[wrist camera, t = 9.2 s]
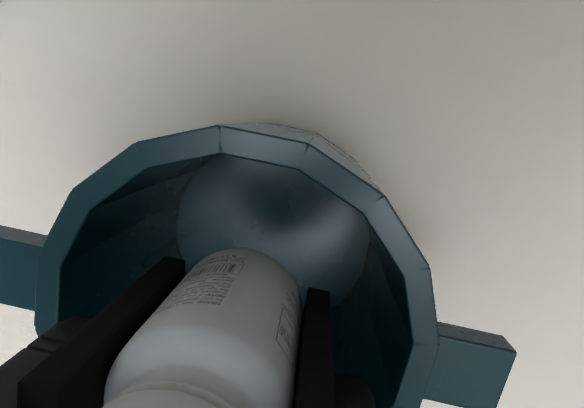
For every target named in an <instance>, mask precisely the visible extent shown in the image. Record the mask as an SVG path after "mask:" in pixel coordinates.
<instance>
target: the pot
mask: <svg viewBox="0 0 584 408" xmlns="http://www.w3.org/2000/svg"><path fill="white" fill-rule="evenodd" d="M232 248H245V249H251V250H255V251H257V252H261V253H263V254H266V255H268V256H270V257H271V258H273V259H274V260H276V261H277V262H279V263H280V264H281V265H282V266H283V267H284V268H285V269H286V270H287V271H288V272H289V273H290V274H291V276H292V277H293V279H294V280H295V282H296V284H297V286H298V289H299V292H300V296H301V301H302V314H303V310H304V305H305V301H306V296H307V292H308V288H309V287H311V288H316V289H320V290H325V291H329V292H330V306H331V329H332V352H333V372H334V373H339V374H343V375H347V376H352V377H356V378H361V379H363V380H364V381H365V383H366V384H367V386H368V387H369V389H370V390H371V392H372V393H373V396H374V401H375V407H376V408H420V405H421V402H422V399H428V400H432V401H436V402H441V403H445V404H450V405H454V406H458V407H463V408H496V406H497V404H498V401H499V399H500V396H501V394H502V391H503V388H504V386H505V383H506V381H507V378H508V375H509V373H510V370H511V368H512V365H513V362H514V360H515V357H516V355H517V353H516V351H515V350H514V348H513V347H512V346H511V345H510V344H509V343H508V341H507V340H506V339H505V338H504V337H503V336H501V335H497V334H492V333H488V332H483V331H478V330H474V329H469V328H465V327H460V326H456V325H451V324H447V323H442V322H437V317H436V309H435V302H434V294H433V286H432V279H431V271H430V268H429V264H428V263H427V261H426V259H425V258H424V256H423V255H422V253H421V252H420V250H419V248H418V247H417V245H416V244H415V242H414V240H413V239H412V237H411V236H410V234H409V233H408V231H407V229H406V228H405V226H404V225H403V223H402V221H401V220H400V218H399V217H398V215H397V213H396V212H395V210H394V209H393V207H392V206H391V204H390V202H389V201H388V199H387V198H386V196H385V195H384V194H383V193H382V191H381V190H380V189H379V188H378V187H377V185H376V184H375V183H374V182H373V181H372V180H371V178H370V177H369V176H368V175H367V174H366V173H365V171H364V170H363V169H362V168H361V167H360V165H359V164H358V163H357V162H356V161H355V160H354V159H353V158H352V157H351V156H349V155H348V154H346V153H345V152H343V151H342V150H340V149H339V148H338V147H336V146H335V145H334V144H332V143H330V142H329V141H327V140H326V139H324V138H323V137H322V136H320V135H319V134H317V133H315V132H311V131H306V130H301V129H297V128H293V127H287V126H282V125H277V124H272V123H259V124H229V125H214V126H210V127H205V128H200V129H195V130H191V131H186V132H181V133H176V134H171V135H167V136H162V137H157V138H152V139H148V140H143V141H138V142H136V143H133V144H132V145H131V146H129V147H128V148H127V149H125V150H124V151H123V152H121V153H120V154H119V155H117V156H116V157H115V158H113V159H112V160H111V161H109V162H108V163H106V164H105V165H104V166H102V167H101V168H100V169H98V170H97V171H96V172H94V173H93V174H92V175H90V176H89V177H88V178H86V179H85V180H84V181H82V182H81V183H80V184H78V185H77V186H76V187H74V188H73V189H72V191H71V192H70V194H69V196H68V198H67V200H66V201H65V203H64V205H63V207H62V209H61V211H60V213H59V215H58V217H57V219H56V221H55V223H54V225H53V227H52V228H51V230H50V232H49V234H48V236H47V235H43V234H38V233H34V232H29V231H24V230H20V229H15V228H11V227H6V226H2V225H0V303H2V304H6V305H11V306H15V307H19V308H24V309H28V310H33V311H35V319H34V326H35V330H36V332H37V335H38V338H40V336H41V335H42V334H43V333H45V332H46V331H47V330H49V329H50V328H51V327H53V326H54V325H55V324H57V323H59V322H62V321H64V320H67V319H69V318H72V317H74V316H80V317H85V318H89V319H92V318H93V317H94V316H96V315H97V314H98V313H99V312H100V311H101V310H103V309H104V308H105V307H106V306H107V305H108V304H110V303H111V302H112V301H113V300H114V299H115V298H117V297H118V296H119V295H120V294H121V293H122V292H124V291H125V290H126V289H127V288H128V287H129V286H131V285H132V284H133V283H134V282H135V281H136V280H138V279H139V278H140V277H141V276H142V275H143V274H145V273H146V272H147V271H148V270H149V269H150V268H152V267H153V266H154V265H155V264H156V263H157V262H159V261H160V260H161V259H162V258H163V257H164V256H169V257H174V258H178V259H183V260H186V264H185V272H184V277H185V276H186V275H187V274H188V273H189V272H190V271H191V269H192V268H193V267H194V266H195V265H196V264H197V263H198V262H200V261H201V260H202V259H203V258H205V257H206V256H208V255H210V254H212V253H215V252H218V251H221V250H225V249H232Z"/></svg>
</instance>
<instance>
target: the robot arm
mask: <svg viewBox="0 0 584 408" xmlns="http://www.w3.org/2000/svg"><path fill="white" fill-rule="evenodd" d="M185 264H186V260H183V259H178V258H174V257H169V256H164V257H163V258H162V259H161V260H160V261H159V262H157V263H156V264H155V265H154V266H153V267H152V268H150V269H149V270H148V271H147V272H146V273H145V274H143V275H142V276H141V277H140V278H139V279H138V280H136V281H135V282H134V283H133V284H132V285H131V286H129V287H128V288H127V289H126V290H125V291H124V292H122V293H121V294H120V295H119V296H118V297H117V298H115V299H114V300H113V301H112V302H111V303H110V304H108V305H107V306H106V307H105V308H104V309H103V310H101V311H100V312H99V313H98V314H97V315H96V316H94V317H93V318H92V319H89V318H85V317H80V316H74V317H72V318H69V319H67V320H64V321H62V322H59V323H57V324H55V325H54V326H53V327H51V328H50V329H49V330H47V331H46V332H45V333H43V334H42V335H41V336H40V338H37V339H36V340H34V341H33V342H32V343H30V344H29V345H28V346H27V348H24V349H22V350H21V351H20V352H18V353H17V354H16V355H15V356H13V357H12V358H11V359H9V360H8V361H7V362H5V363H4V364H3V365H1V366H0V408H102V407H103V406H104V392H105V385H106V381H107V377H108V374H109V371H110V369H111V367H112V365H113V363H114V361H115V359H116V358H117V356H118V354H119V353H120V352H121V350H122V349H123V348H124V346H125V345H126V344H127V343H128V342H129V340H130V339H131V338H132V337H133V335H134V334H135V333H136V332H137V331H138V330H139V329H140V327H141V326H142V325H143V324H144V323H145V322H146V321H147V320H148V318H149V317H150V316H151V315H152V314H153V313H154V312H155V311H156V309H157V308H158V307H159V306H160V305H161V304H162V302H163V301H164V300H165V299H166V298H167V297H168V296H169V295H170V293H171V292H172V291H173V290H174V289H175V288H176V287H177V286H178V284H179V283H180V282H181V281H182V280H183V278H184V272H185ZM292 408H376V407H375V401H374V396H373V393H372V392H371V390H370V389H369V387H368V386H367V384H366V383H365V381H364V380H363V379H361V378H356V377H352V376H347V375H343V374H339V373H334V372H333V352H332V329H331V306H330V292H329V291H325V290H320V289H316V288H311V287H309V288H308V292H307V296H306V301H305V305H304V310H303V314H302V321H301V332H300V341H299V349H298V361H297V370H296V379H295V388H294V398H293V406H292Z"/></svg>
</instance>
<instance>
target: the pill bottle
mask: <svg viewBox="0 0 584 408" xmlns="http://www.w3.org/2000/svg"><path fill="white" fill-rule="evenodd" d="M301 321H302V301H301V296H300V292H299V289H298V286H297V284H296V282H295V280H294V279H293V277H292V276H291V274H290V273H289V272H288V271H287V270H286V269H285V268H284V267H283V266H282V265H281V264H280V263H279V262H277V261H276V260H274V259H273V258H271V257H270V256H268V255H266V254H263V253H261V252H257V251H255V250H251V249H245V248H232V249H225V250H221V251H218V252H215V253H212V254H210V255H208V256H206V257H205V258H203V259H202V260H201V261H200V262H198V263H197V264H196V265H195V266H194V267H193V268H192V269H191V271H190V272H189V273H188V274H187V275H186V276H185V277H184V278H183V280H182V281H181V282H180V283H179V284H178V286H177V287H176V288H175V289H174V290H173V291H172V292H171V293H170V295H169V296H168V297H167V298H166V299H165V300H164V301H163V302H162V304H161V305H160V306H159V307H158V308H157V309H156V311H155V312H154V313H153V314H152V315H151V316H150V317H149V318H148V320H147V321H146V322H145V323H144V324H143V325H142V326H141V327H140V329H139V330H138V331H137V332H136V333H135V334H134V335H133V337H132V338H131V339H130V340H129V342H128V343H127V344H126V345H125V346H124V348H123V349H122V350H121V352H120V353H119V354H118V356H117V358H116V359H115V361H114V363H113V365H112V367H111V369H110V371H109V374H108V377H107V381H106V385H105V392H104V406H103V407H102V408H292V406H293V398H294V388H295V379H296V370H297V361H298V349H299V341H300V332H301Z"/></svg>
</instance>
